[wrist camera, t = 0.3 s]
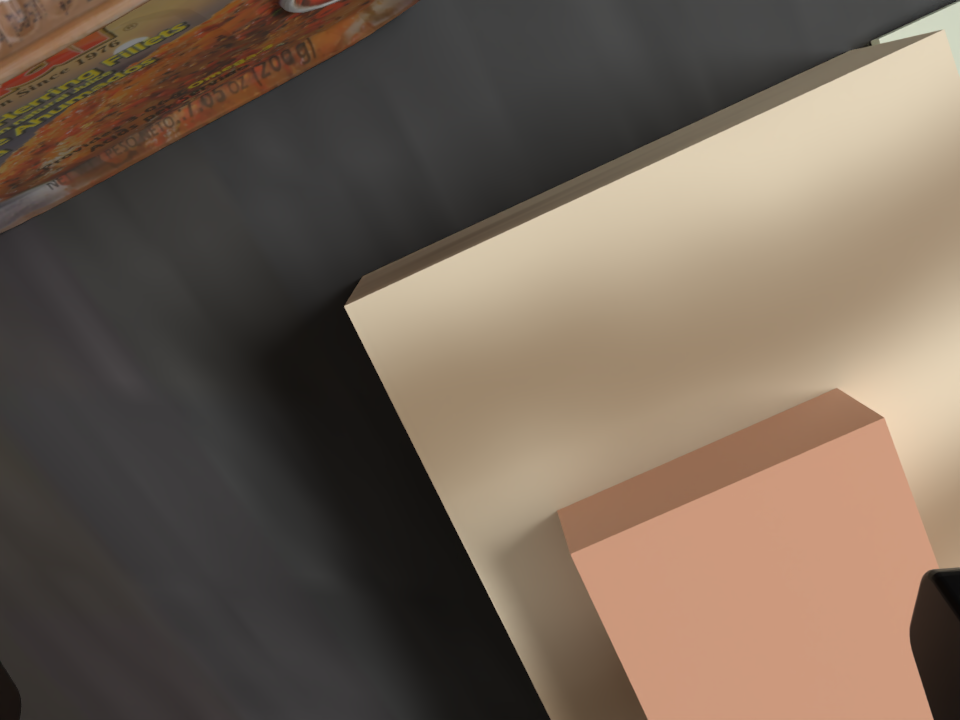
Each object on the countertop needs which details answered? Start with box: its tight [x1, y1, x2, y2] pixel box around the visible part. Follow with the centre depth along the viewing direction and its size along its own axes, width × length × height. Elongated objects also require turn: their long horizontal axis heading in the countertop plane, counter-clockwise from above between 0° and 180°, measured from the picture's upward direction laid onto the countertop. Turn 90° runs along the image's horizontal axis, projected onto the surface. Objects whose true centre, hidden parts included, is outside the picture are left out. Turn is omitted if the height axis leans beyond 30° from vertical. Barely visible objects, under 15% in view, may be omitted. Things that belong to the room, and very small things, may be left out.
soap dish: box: [344, 29, 960, 720], centre depth 21 cm, size 20×12×4 cm, turn 24°
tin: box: [0, 0, 420, 233], centre depth 16 cm, size 15×3×8 cm, turn 117°
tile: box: [557, 388, 939, 720], centre depth 18 cm, size 9×6×2 cm, turn 24°
